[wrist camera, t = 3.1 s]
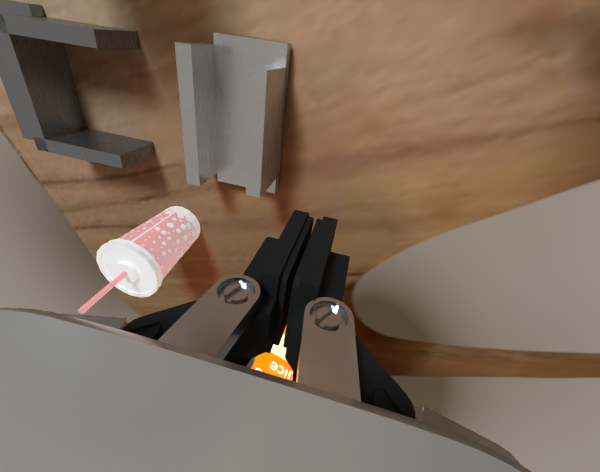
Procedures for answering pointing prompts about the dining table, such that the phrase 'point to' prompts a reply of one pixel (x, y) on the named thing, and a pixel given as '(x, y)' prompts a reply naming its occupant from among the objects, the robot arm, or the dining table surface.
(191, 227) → the beverage cup
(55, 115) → the fixed leaf
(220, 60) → the gray u-channel trough
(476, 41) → the dining table surface
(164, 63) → the dining table surface
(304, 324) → the robot arm
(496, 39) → the dining table surface
